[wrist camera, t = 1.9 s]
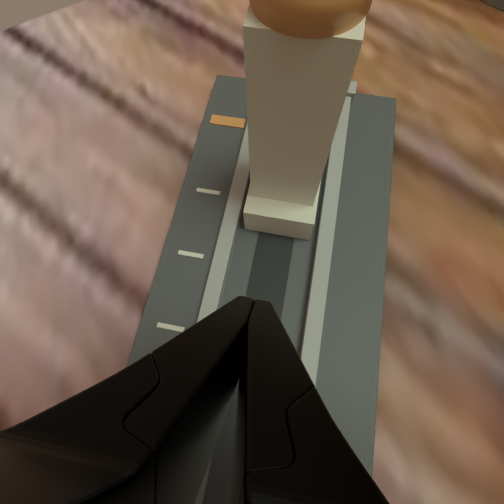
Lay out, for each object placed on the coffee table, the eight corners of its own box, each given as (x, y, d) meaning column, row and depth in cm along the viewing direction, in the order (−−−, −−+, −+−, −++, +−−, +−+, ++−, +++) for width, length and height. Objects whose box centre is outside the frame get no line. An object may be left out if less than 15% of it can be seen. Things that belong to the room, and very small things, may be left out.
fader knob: (308, 240, 19) (387, 13, 7) (244, 229, 19) (222, -5, 8) (320, 164, 21) (398, -116, 9) (261, 155, 21) (263, -127, 9)
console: (355, 591, 15) (371, 625, 13) (88, 522, 16) (62, 542, 14) (389, 112, 24) (402, 86, 22) (218, 88, 25) (215, 61, 23)
